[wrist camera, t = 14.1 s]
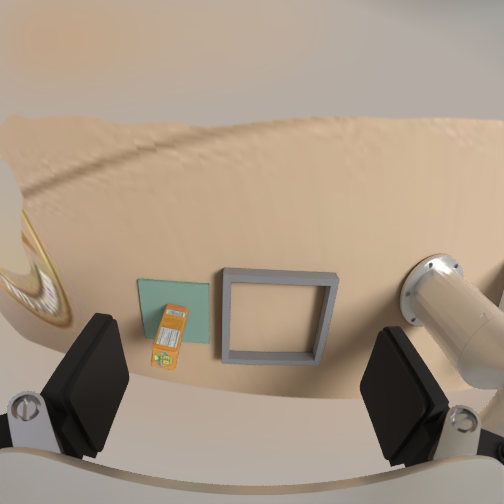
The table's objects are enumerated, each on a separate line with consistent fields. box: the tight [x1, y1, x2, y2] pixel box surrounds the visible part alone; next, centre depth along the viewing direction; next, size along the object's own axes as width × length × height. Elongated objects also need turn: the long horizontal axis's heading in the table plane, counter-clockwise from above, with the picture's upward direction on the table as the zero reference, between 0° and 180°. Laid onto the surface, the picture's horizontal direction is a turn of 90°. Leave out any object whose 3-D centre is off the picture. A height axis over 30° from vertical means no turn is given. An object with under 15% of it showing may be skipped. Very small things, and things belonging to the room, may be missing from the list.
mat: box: [138, 279, 210, 344], centre depth 42 cm, size 10×10×1 cm
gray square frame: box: [222, 268, 339, 365], centre depth 42 cm, size 15×15×2 cm
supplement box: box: [151, 304, 188, 370], centre depth 37 cm, size 3×3×10 cm
